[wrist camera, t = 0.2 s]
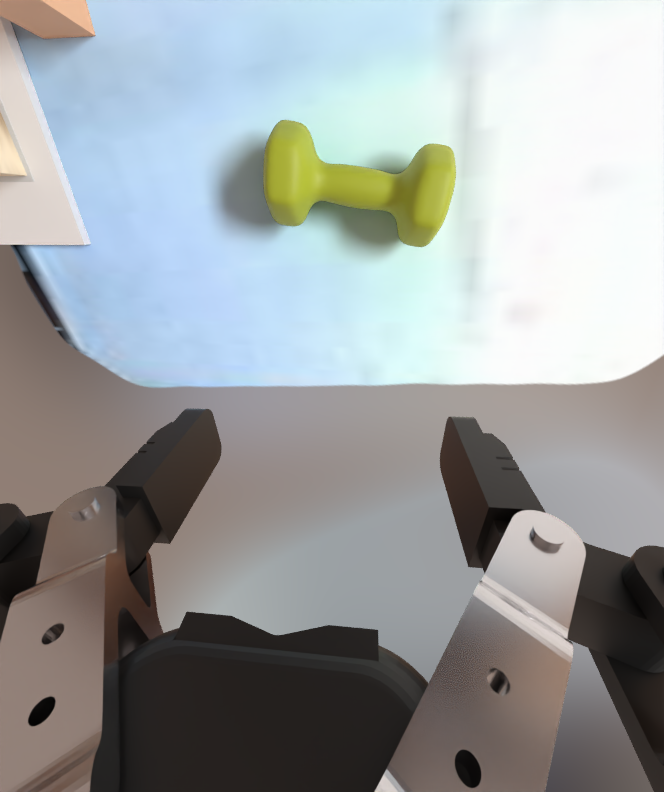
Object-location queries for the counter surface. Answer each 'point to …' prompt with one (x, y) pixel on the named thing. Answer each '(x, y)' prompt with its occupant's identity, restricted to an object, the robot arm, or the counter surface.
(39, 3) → the terracotta block
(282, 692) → the robot arm
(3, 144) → the maple base block
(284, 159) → the dumbbell
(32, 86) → the board
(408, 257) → the counter surface
